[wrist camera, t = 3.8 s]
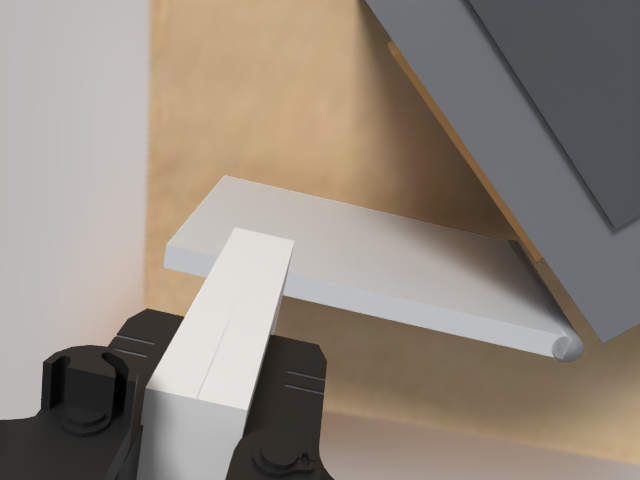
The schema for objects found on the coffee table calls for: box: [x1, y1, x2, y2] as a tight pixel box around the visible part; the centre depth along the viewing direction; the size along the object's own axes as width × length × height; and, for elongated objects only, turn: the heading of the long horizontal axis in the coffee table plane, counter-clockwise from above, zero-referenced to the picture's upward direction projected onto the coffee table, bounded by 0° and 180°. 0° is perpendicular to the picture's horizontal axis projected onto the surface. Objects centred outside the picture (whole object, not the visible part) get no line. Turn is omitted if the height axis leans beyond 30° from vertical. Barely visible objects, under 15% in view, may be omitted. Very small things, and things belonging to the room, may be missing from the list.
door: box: [163, 175, 584, 362], centre depth 28 cm, size 17×2×10 cm, turn 78°
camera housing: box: [365, 0, 640, 344], centre depth 24 cm, size 18×12×13 cm
